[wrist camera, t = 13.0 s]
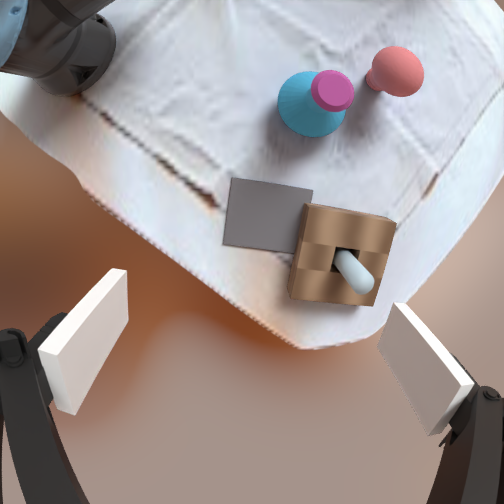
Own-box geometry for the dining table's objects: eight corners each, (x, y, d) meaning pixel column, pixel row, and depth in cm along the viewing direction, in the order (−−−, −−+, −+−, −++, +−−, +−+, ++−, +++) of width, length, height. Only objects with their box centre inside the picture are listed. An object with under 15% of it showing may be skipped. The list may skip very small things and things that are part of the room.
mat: (223, 243, 47) (223, 243, 47) (232, 177, 44) (232, 177, 44) (300, 253, 48) (300, 254, 47) (312, 190, 45) (313, 190, 44)
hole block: (287, 287, 50) (290, 298, 46) (303, 202, 45) (309, 206, 42) (364, 295, 51) (373, 306, 47) (385, 217, 46) (396, 223, 42)
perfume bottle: (272, 78, 39) (286, 46, 25) (334, 80, 39) (372, 54, 25) (275, 138, 42) (290, 132, 28) (337, 139, 42) (378, 136, 28)
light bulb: (364, 109, 41) (400, 99, 29) (344, 67, 39) (375, 45, 27) (400, 97, 40) (441, 86, 29) (381, 57, 38) (418, 36, 26)
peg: (326, 260, 48) (349, 293, 37) (330, 242, 47) (355, 271, 36) (343, 262, 49) (370, 295, 37) (347, 245, 48) (376, 274, 36)
